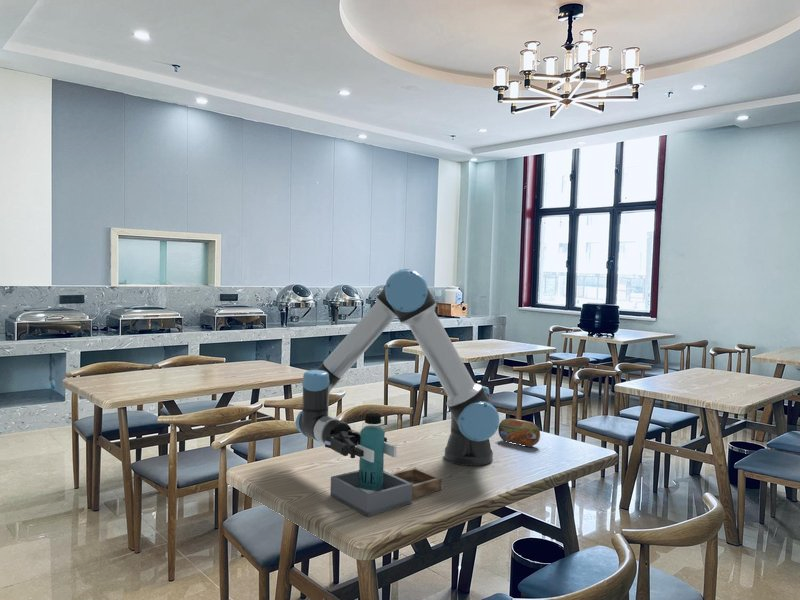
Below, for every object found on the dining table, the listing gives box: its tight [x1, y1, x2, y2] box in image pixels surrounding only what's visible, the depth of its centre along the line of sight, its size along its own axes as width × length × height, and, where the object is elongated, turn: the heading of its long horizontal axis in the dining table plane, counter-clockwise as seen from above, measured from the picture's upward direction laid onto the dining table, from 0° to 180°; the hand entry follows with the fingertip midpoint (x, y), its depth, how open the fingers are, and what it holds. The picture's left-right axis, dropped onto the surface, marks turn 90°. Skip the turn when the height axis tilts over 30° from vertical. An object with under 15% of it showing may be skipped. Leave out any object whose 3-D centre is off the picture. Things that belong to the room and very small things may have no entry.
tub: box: [329, 469, 414, 518], centre depth 148 cm, size 14×16×5 cm
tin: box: [497, 418, 541, 448], centre depth 201 cm, size 15×3×8 cm, turn 50°
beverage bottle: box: [358, 412, 386, 490], centre depth 148 cm, size 6×7×20 cm
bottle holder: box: [390, 466, 443, 499], centre depth 157 cm, size 11×11×3 cm
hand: (384, 454), depth 144 cm, fingers closed on beverage bottle, 6 cm apart
